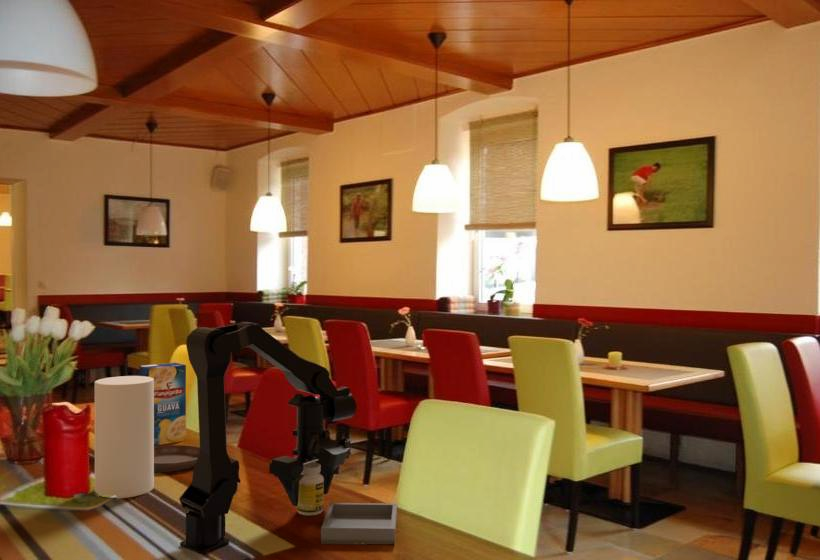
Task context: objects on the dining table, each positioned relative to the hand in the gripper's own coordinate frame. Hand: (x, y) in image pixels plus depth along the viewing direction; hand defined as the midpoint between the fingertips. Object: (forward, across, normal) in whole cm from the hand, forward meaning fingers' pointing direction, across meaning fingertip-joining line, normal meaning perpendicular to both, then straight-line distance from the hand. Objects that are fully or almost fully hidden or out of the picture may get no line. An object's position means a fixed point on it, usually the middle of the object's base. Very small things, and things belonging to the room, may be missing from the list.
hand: (310, 499), depth 147 cm
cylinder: (+3, -14, +44) cm, 46 cm away
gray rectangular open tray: (+2, -2, -15) cm, 15 cm away
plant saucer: (+3, +5, +53) cm, 53 cm away
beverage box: (+3, +18, +74) cm, 76 cm away
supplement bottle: (+3, 0, 0) cm, 3 cm away
